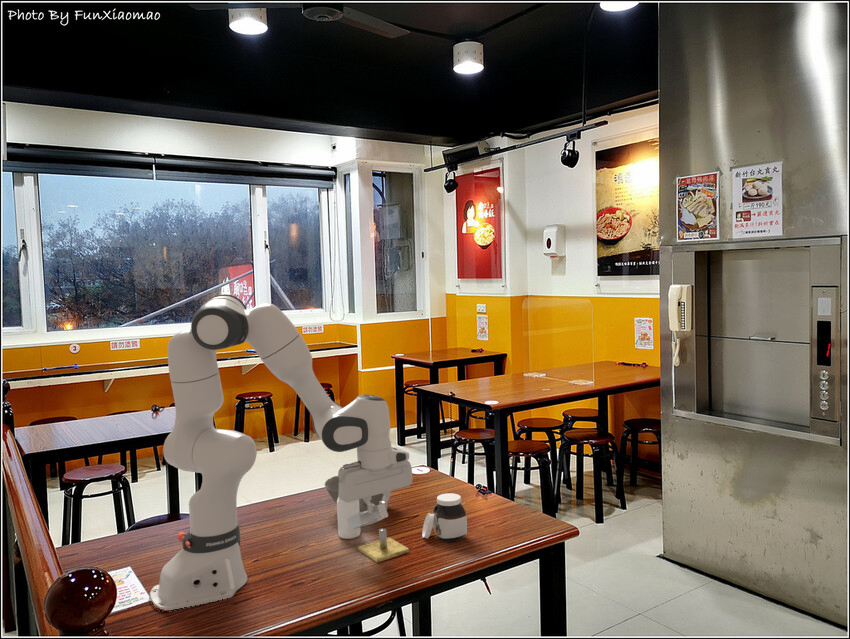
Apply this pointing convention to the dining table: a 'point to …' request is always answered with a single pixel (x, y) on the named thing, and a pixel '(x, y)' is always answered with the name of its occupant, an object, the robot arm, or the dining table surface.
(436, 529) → the spread jar
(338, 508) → the can
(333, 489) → the ceramic bowl
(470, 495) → the dining table surface
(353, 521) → the grey square frame handle
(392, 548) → the post
